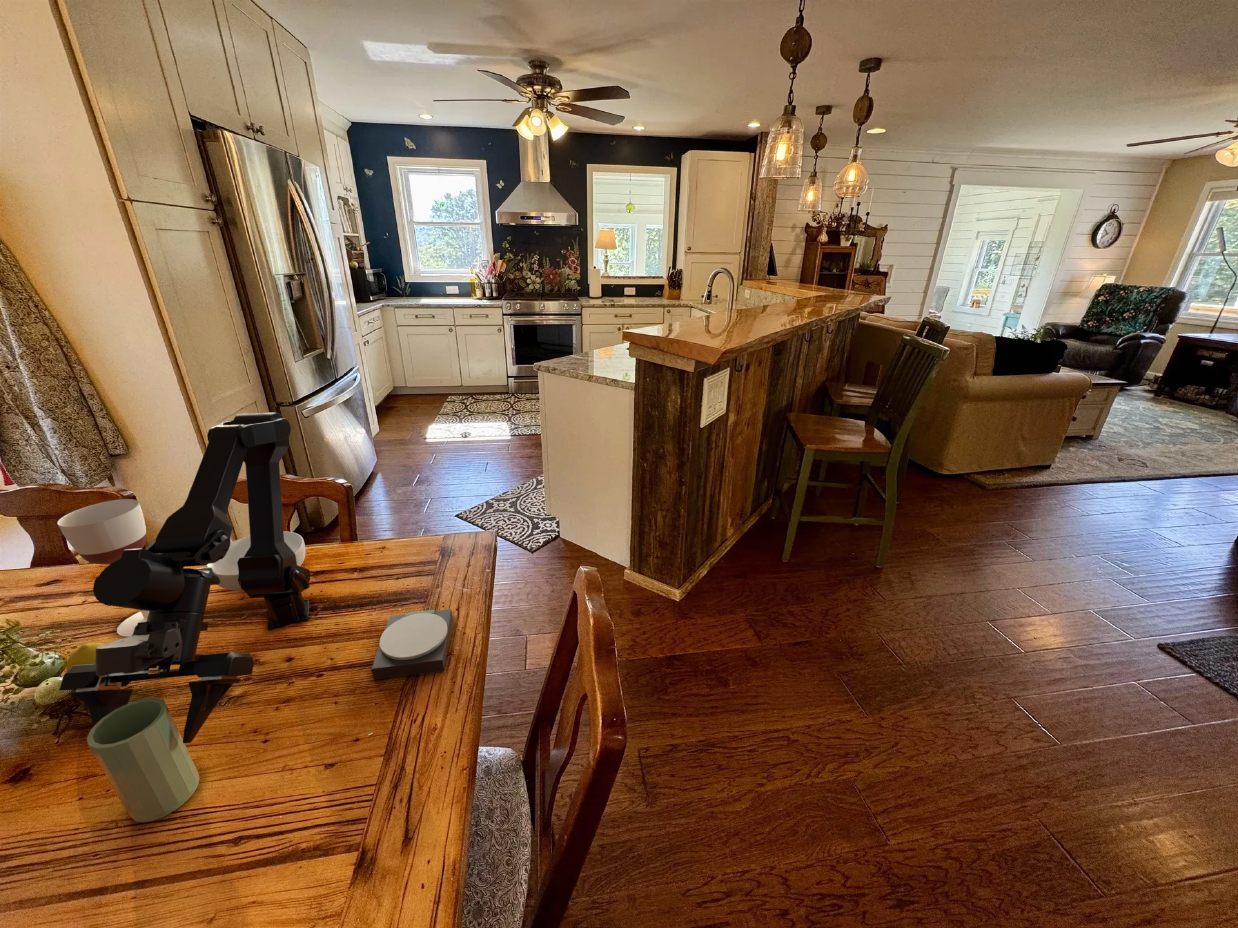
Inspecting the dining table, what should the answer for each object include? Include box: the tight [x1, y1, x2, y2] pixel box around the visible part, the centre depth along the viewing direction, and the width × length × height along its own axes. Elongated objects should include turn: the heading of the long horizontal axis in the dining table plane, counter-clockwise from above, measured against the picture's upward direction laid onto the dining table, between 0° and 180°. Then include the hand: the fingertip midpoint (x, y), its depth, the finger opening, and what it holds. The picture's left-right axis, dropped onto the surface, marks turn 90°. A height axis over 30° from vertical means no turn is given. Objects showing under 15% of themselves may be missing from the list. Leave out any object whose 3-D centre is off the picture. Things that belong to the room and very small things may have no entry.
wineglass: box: [57, 498, 149, 638], centre depth 88 cm, size 9×10×23 cm
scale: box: [370, 608, 454, 681], centre depth 86 cm, size 13×11×3 cm
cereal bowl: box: [205, 530, 307, 592], centre depth 103 cm, size 17×17×7 cm
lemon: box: [65, 642, 106, 672], centre depth 77 cm, size 6×6×8 cm
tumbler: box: [86, 697, 201, 823], centre depth 60 cm, size 7×7×13 cm
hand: (145, 747), depth 60 cm, fingers open, 9 cm apart
